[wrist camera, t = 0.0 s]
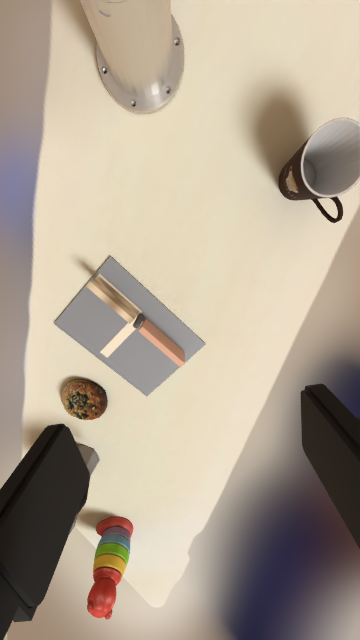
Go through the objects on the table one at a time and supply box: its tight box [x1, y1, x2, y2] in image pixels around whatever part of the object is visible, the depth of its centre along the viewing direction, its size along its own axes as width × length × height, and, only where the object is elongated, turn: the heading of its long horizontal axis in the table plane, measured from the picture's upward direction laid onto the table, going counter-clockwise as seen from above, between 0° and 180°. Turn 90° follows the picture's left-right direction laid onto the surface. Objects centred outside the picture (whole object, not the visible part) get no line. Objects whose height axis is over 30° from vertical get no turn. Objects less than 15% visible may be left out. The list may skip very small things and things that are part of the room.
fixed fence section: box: [86, 277, 144, 328], centre depth 43 cm, size 12×1×5 cm, turn 46°
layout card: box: [54, 256, 205, 396], centre depth 48 cm, size 26×19×1 cm
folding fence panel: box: [138, 318, 185, 367], centre depth 45 cm, size 11×1×5 cm, turn 46°
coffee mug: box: [279, 118, 360, 223], centre depth 34 cm, size 12×9×10 cm
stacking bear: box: [87, 517, 133, 619], centre depth 62 cm, size 11×10×18 cm
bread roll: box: [61, 379, 107, 420], centre depth 53 cm, size 11×11×5 cm
